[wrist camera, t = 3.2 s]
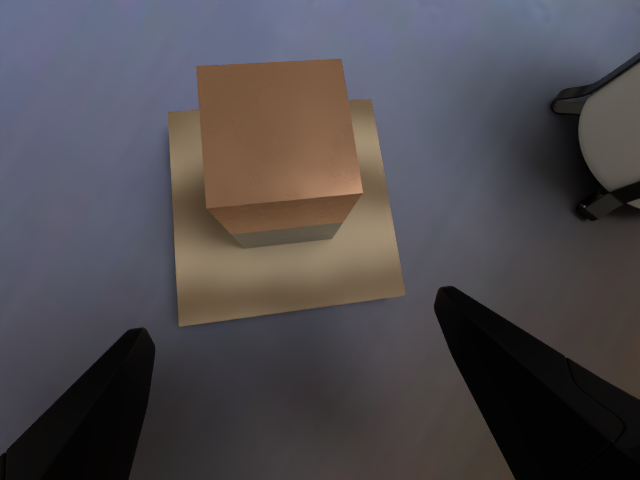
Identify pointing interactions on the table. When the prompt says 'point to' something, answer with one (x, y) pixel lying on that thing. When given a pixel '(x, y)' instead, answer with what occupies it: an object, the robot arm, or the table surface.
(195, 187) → the oak stand
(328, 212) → the copper and grey block
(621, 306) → the table surface
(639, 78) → the coffee press
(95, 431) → the robot arm
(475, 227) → the table surface
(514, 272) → the table surface
